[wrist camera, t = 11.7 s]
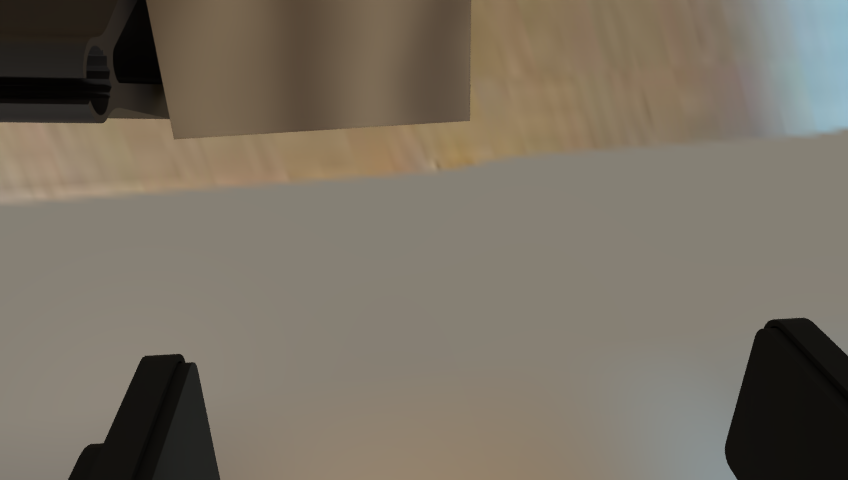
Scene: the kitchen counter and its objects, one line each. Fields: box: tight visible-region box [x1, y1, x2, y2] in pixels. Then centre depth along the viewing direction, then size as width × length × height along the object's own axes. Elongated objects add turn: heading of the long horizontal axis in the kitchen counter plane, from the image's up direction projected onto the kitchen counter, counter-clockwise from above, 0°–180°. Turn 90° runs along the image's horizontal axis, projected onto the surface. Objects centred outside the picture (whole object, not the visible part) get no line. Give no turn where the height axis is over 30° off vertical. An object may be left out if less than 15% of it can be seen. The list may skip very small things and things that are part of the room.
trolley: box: [146, 0, 471, 139], centre depth 32 cm, size 14×9×4 cm, turn 91°
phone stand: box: [0, 0, 170, 123], centre depth 28 cm, size 9×6×12 cm, turn 177°
